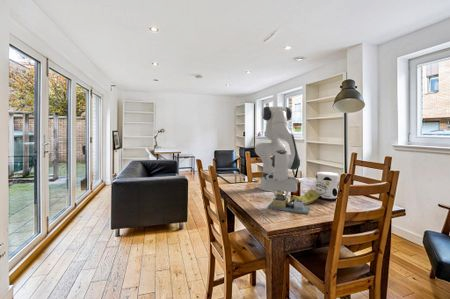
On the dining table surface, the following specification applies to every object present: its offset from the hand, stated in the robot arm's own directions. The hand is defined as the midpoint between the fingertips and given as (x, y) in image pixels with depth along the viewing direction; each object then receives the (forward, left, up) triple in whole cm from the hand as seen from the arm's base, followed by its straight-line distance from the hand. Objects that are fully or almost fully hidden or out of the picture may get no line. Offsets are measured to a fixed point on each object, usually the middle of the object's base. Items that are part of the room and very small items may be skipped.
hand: (280, 197), depth 156 cm
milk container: (-37, +26, -7) cm, 46 cm away
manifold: (0, +6, -7) cm, 9 cm away
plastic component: (-19, +13, -7) cm, 24 cm away
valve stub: (0, 0, -4) cm, 4 cm away
